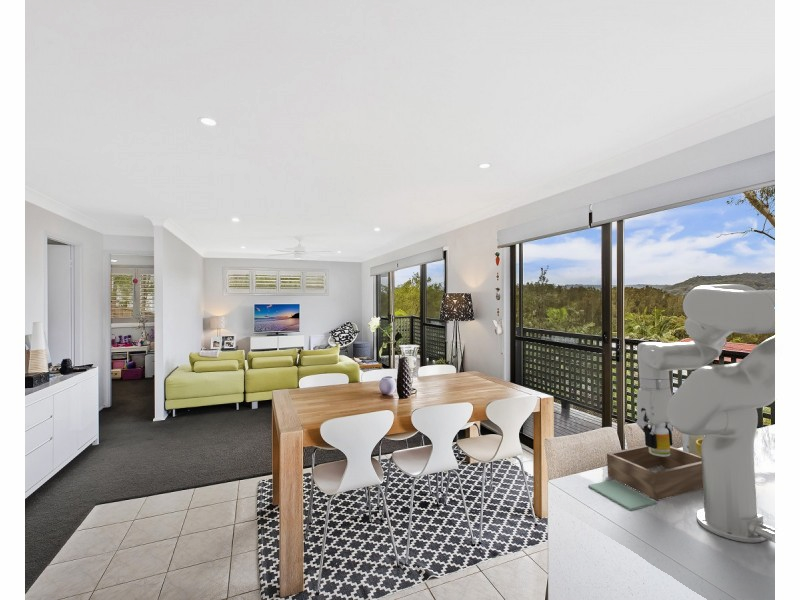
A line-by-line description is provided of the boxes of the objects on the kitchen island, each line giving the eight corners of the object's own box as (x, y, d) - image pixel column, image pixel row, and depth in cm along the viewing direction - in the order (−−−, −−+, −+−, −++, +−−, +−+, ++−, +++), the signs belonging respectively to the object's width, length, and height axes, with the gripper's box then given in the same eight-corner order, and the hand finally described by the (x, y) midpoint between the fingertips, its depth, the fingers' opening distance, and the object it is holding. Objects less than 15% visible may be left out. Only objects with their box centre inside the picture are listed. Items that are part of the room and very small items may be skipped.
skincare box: (682, 457, 130) (680, 421, 130) (698, 458, 128) (696, 422, 128) (689, 465, 124) (687, 427, 124) (705, 466, 122) (703, 428, 122)
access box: (713, 485, 110) (712, 460, 110) (657, 500, 103) (655, 474, 103) (660, 464, 125) (659, 442, 125) (607, 476, 118) (606, 453, 118)
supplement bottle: (675, 456, 111) (672, 422, 111) (656, 457, 111) (653, 423, 111) (662, 450, 116) (660, 417, 117) (644, 451, 116) (642, 418, 117)
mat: (656, 503, 102) (656, 501, 102) (630, 510, 99) (630, 508, 99) (612, 481, 115) (612, 479, 115) (588, 486, 112) (588, 485, 112)
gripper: (663, 379, 121) (667, 438, 120) (621, 384, 115) (625, 446, 114) (687, 383, 114) (692, 445, 113) (644, 388, 108) (649, 454, 107)
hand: (659, 445), depth 114 cm, fingers closed on supplement bottle, 5 cm apart
